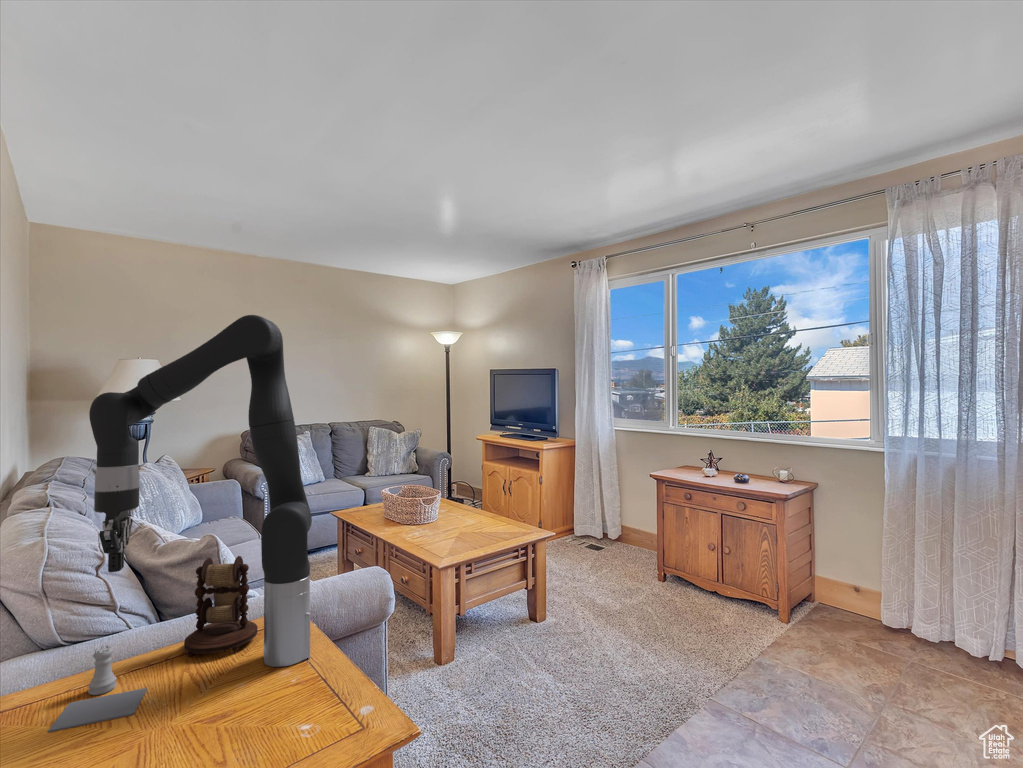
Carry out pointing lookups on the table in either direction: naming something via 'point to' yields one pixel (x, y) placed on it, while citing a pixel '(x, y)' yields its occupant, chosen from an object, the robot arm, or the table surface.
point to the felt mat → (99, 709)
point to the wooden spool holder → (221, 609)
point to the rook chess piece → (102, 672)
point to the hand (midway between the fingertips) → (116, 570)
